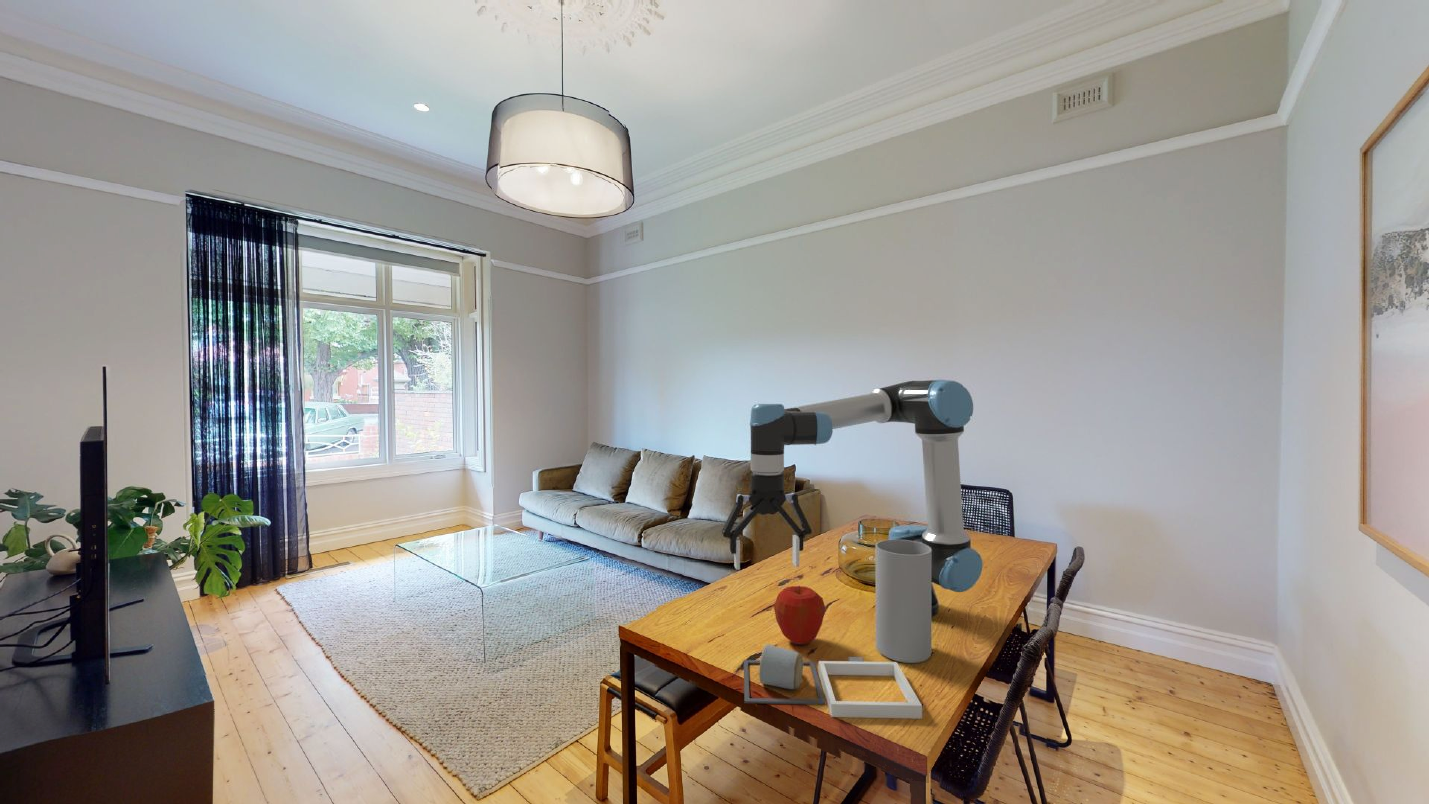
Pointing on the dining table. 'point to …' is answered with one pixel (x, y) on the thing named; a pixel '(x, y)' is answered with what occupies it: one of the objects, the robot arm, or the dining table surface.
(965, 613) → the dining table surface
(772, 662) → the ceramic mug
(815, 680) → the tray outline
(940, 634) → the dining table surface
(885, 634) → the cylinder vase
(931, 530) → the robot arm
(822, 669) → the socket
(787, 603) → the apple
